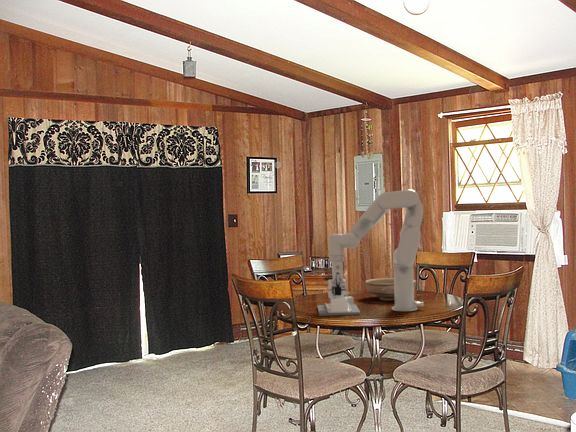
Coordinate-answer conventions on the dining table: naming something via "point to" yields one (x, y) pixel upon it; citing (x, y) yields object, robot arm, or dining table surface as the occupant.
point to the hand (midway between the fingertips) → (337, 293)
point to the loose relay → (350, 300)
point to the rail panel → (324, 310)
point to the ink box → (332, 289)
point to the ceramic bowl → (382, 288)
